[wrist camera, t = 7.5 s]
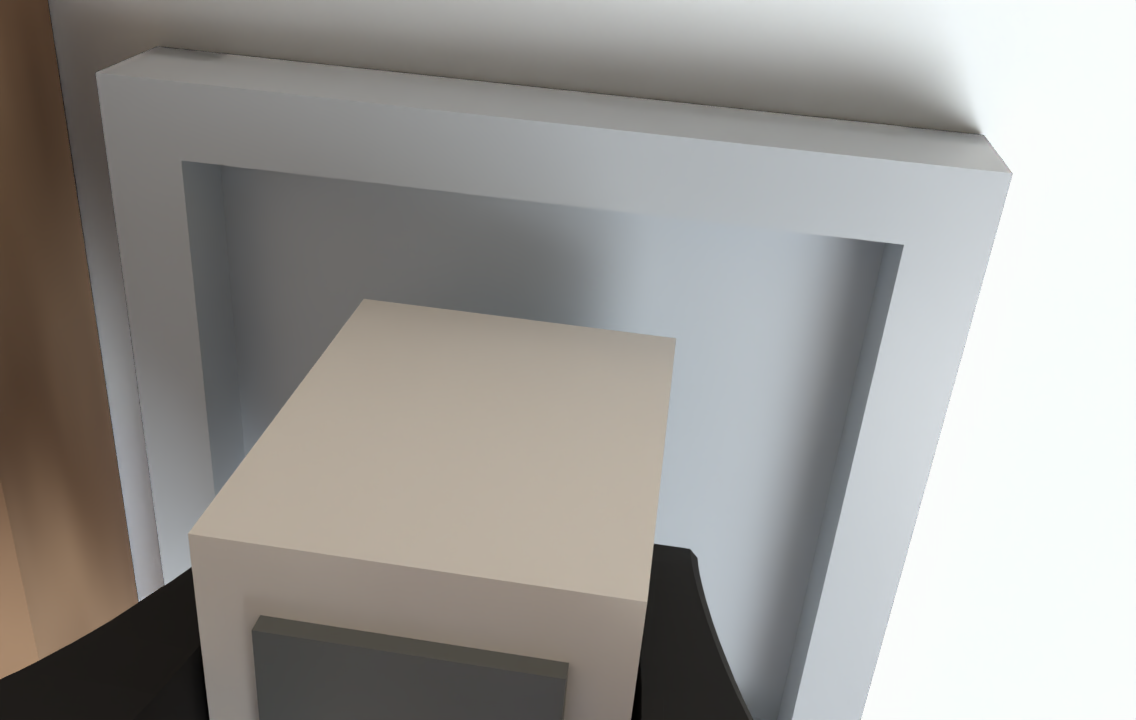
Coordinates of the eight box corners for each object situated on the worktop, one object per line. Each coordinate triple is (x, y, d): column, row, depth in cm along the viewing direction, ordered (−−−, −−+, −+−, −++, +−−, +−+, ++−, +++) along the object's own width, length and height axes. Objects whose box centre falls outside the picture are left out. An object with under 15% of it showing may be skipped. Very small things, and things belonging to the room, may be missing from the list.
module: (628, 692, 16) (586, 1043, 12) (370, 652, 16) (230, 977, 12) (675, 338, 13) (645, 618, 9) (363, 298, 14) (177, 547, 9)
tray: (824, 748, 19) (831, 825, 17) (222, 653, 20) (182, 719, 18) (983, 134, 14) (1012, 172, 12) (157, 46, 15) (95, 72, 13)
